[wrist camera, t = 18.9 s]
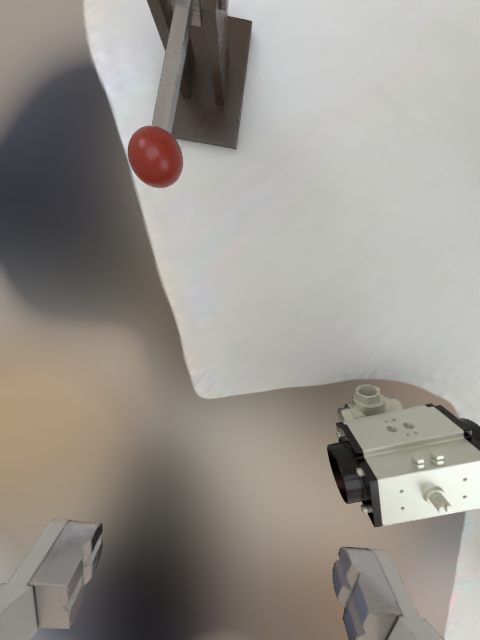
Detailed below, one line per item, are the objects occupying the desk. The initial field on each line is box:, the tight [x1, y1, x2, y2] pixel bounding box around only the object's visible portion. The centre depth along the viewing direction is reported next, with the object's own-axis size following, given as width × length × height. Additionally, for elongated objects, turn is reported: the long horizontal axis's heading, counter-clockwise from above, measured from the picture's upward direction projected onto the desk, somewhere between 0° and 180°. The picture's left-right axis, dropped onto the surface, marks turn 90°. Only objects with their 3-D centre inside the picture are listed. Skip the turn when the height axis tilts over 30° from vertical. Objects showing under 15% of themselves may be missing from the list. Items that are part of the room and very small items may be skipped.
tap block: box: [147, 0, 252, 149], centre depth 24 cm, size 12×9×14 cm
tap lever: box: [128, 0, 203, 188], centre depth 18 cm, size 17×4×4 cm, turn 171°
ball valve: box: [327, 384, 480, 527], centre depth 35 cm, size 18×8×18 cm, turn 103°
